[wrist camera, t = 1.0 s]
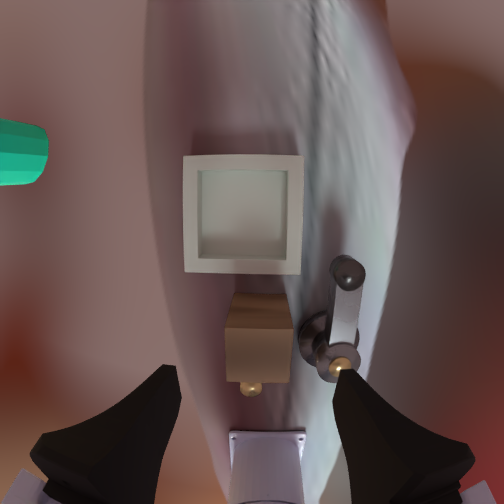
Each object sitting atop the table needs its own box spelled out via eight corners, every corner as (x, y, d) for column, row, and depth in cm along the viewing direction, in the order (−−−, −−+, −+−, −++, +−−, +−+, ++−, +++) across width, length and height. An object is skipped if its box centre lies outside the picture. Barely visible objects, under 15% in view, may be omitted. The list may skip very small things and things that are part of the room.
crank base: (348, 370, 23) (360, 397, 19) (237, 371, 23) (233, 400, 19) (359, 309, 22) (376, 331, 18) (237, 309, 22) (231, 332, 18)
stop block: (283, 339, 22) (288, 382, 17) (234, 337, 23) (226, 381, 17) (286, 294, 22) (293, 329, 16) (234, 292, 22) (224, 327, 16)
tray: (296, 267, 21) (300, 274, 19) (191, 265, 21) (184, 272, 19) (300, 159, 20) (304, 155, 18) (190, 159, 20) (183, 155, 18)
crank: (346, 360, 21) (357, 383, 18) (309, 362, 21) (315, 386, 18) (361, 252, 19) (379, 263, 16) (319, 251, 20) (330, 262, 16)
